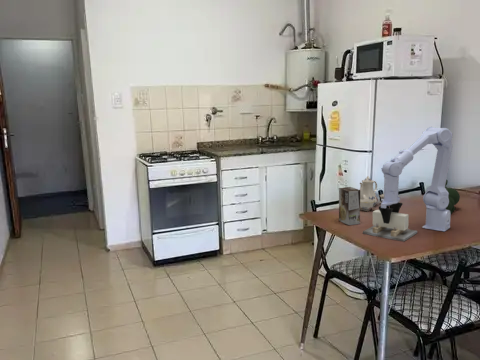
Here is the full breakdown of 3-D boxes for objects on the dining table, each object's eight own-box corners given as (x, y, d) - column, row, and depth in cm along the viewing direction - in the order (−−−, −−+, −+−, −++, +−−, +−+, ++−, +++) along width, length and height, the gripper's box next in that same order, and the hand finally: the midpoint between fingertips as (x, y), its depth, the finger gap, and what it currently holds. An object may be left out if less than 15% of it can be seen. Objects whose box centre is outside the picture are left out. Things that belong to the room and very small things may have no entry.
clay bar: (408, 228, 182) (408, 214, 181) (404, 230, 179) (404, 216, 178) (376, 222, 191) (376, 209, 190) (372, 224, 189) (372, 211, 188)
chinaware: (368, 217, 218) (372, 185, 213) (342, 208, 230) (345, 178, 226) (399, 207, 235) (403, 177, 231) (372, 199, 247) (376, 171, 243)
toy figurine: (452, 221, 205) (461, 205, 224) (453, 183, 200) (463, 170, 220) (430, 219, 211) (442, 203, 230) (431, 181, 206) (443, 169, 225)
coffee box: (360, 224, 201) (361, 190, 198) (348, 225, 199) (348, 191, 196) (350, 219, 209) (350, 186, 206) (338, 220, 208) (338, 187, 205)
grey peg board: (417, 233, 185) (417, 222, 184) (403, 241, 175) (404, 230, 174) (377, 225, 197) (377, 216, 196) (362, 233, 187) (362, 223, 186)
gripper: (389, 186, 190) (388, 215, 193) (374, 191, 180) (373, 223, 182) (405, 187, 185) (404, 218, 188) (390, 194, 175) (389, 226, 178)
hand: (390, 221), depth 185 cm, fingers open, 7 cm apart
